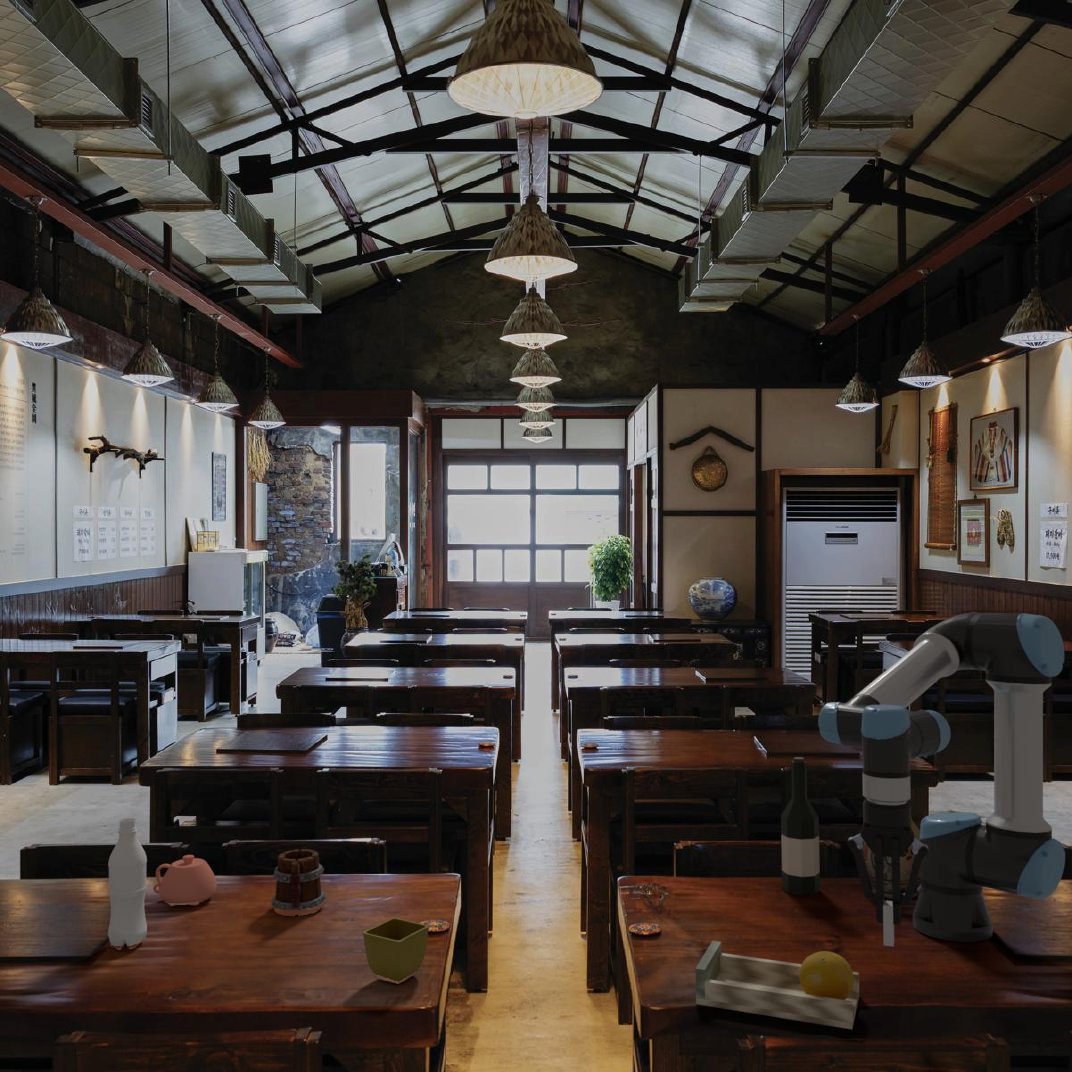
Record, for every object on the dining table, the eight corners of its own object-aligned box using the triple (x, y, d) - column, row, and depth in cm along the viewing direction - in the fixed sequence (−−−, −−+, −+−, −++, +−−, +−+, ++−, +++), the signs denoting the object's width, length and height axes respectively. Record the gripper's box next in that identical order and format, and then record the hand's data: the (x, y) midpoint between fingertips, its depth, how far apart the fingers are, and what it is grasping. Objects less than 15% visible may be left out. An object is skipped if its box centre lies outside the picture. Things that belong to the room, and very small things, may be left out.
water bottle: (154, 942, 201) (154, 817, 202) (126, 955, 195) (126, 826, 196) (128, 937, 204) (128, 814, 205) (99, 949, 198) (100, 822, 199)
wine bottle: (821, 896, 225) (818, 762, 226) (783, 894, 226) (780, 761, 227) (818, 884, 233) (816, 755, 234) (781, 882, 235) (779, 754, 235)
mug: (328, 895, 228) (327, 833, 226) (324, 928, 214) (323, 862, 212) (275, 898, 226) (273, 835, 224) (268, 932, 212) (266, 866, 210)
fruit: (798, 1008, 167) (797, 959, 167) (801, 988, 175) (800, 942, 175) (853, 1015, 164) (852, 966, 164) (854, 995, 172) (853, 947, 172)
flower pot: (399, 992, 177) (398, 941, 177) (361, 981, 182) (361, 931, 182) (430, 974, 185) (429, 925, 185) (393, 965, 189) (393, 917, 189)
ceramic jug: (849, 882, 234) (847, 753, 235) (915, 882, 234) (913, 753, 235) (871, 907, 217) (868, 769, 218) (943, 907, 217) (940, 768, 218)
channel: (859, 995, 174) (858, 960, 174) (852, 1029, 162) (851, 991, 162) (713, 973, 184) (712, 940, 184) (695, 1003, 171) (695, 968, 171)
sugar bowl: (206, 911, 220) (205, 864, 220) (142, 911, 220) (142, 864, 220) (224, 892, 232) (224, 847, 232) (164, 892, 232) (164, 848, 232)
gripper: (929, 797, 167) (931, 940, 167) (847, 791, 172) (849, 930, 172) (928, 808, 160) (930, 957, 160) (843, 801, 165) (845, 945, 165)
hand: (888, 942), depth 166 cm, fingers closed
